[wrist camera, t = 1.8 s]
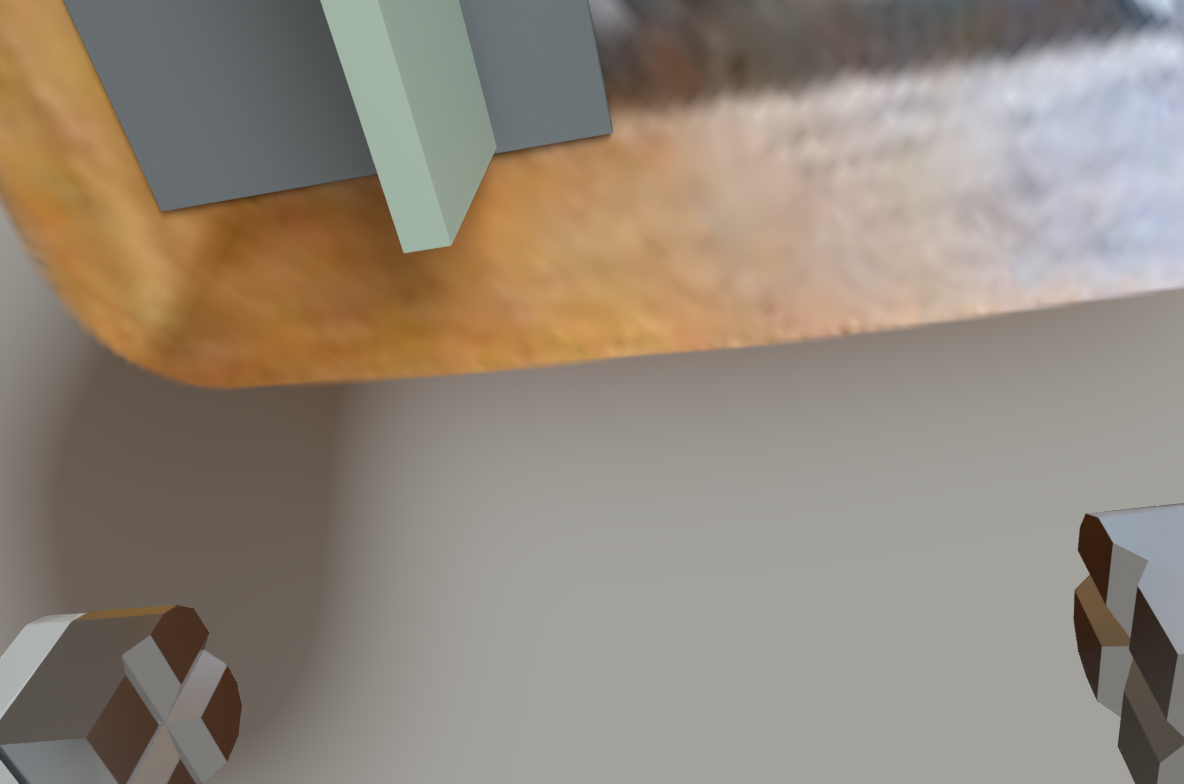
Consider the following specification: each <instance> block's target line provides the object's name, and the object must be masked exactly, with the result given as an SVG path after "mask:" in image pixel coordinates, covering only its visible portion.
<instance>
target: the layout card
mask: <svg viewBox="0 0 1184 784" xmlns="http://www.w3.org/2000/svg"><path fill="white" fill-rule="evenodd" d="M64 2H65V5H66V7H67V9H68V11H69V13H70V15H71V18H72V20H73V22H74V24H75V26H76V28H77V30H78V33H79V35H80V37H81V39H82V41H83V43H84V46H85V48H86V50H87V52H88V54H89V56H90V59H91V61H92V63H93V65H94V67H95V69H96V71H97V74H98V76H99V78H100V80H101V82H102V84H103V87H104V89H105V91H106V93H107V95H108V97H109V99H110V102H111V104H112V106H113V108H114V110H115V112H116V115H117V117H118V119H119V121H120V123H121V125H122V127H123V130H124V132H125V134H126V136H127V138H128V140H129V143H130V145H131V147H132V149H133V151H134V153H135V156H136V158H137V160H138V162H139V164H140V166H141V168H142V171H143V173H144V175H145V177H146V179H147V181H148V184H149V186H150V188H151V190H152V192H153V194H154V196H155V199H156V201H157V203H158V205H159V207H160V209H161V212H162V211H168V210H173V209H179V208H185V207H191V206H196V205H202V204H208V203H214V202H219V201H225V200H231V199H237V198H242V197H248V196H254V195H260V194H265V193H271V192H277V191H283V190H288V189H294V188H300V187H306V186H311V185H317V184H323V183H329V182H334V181H340V180H346V179H352V178H357V177H363V176H369V175H375V174H377V171H376V168H375V164H374V161H373V158H372V155H371V152H370V149H369V146H368V143H367V140H366V137H365V134H364V131H363V128H362V125H361V122H360V119H359V116H358V113H357V110H356V107H355V104H354V101H353V98H352V95H351V92H350V89H349V86H348V83H347V80H346V77H345V74H344V71H343V68H342V65H341V62H340V58H339V55H338V52H337V49H336V46H335V43H334V40H333V37H332V34H331V31H330V28H329V25H328V22H327V19H326V16H325V13H324V10H323V7H322V4H321V1H320V0H64ZM459 3H460V7H461V10H462V14H463V18H464V22H465V26H466V30H467V34H468V38H469V41H470V45H471V49H472V53H473V57H474V61H475V65H476V69H477V72H478V76H479V80H480V84H481V88H482V92H483V96H484V100H485V103H486V107H487V111H488V115H489V119H490V123H491V127H492V131H493V134H494V138H495V142H496V146H497V148H496V150H495V152H494V154H495V153H501V152H507V151H513V150H518V149H524V148H530V147H536V146H541V145H547V144H553V143H559V142H564V141H570V140H576V139H582V138H587V137H593V136H599V135H605V134H610V133H613V128H612V122H611V117H610V112H609V107H608V101H607V96H606V91H605V86H604V81H603V75H602V70H601V65H600V60H599V54H598V49H597V44H596V39H595V33H594V28H593V23H592V18H591V12H590V7H589V2H588V0H459Z"/></svg>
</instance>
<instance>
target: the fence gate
mask: <svg viewBox="0 0 1184 784" xmlns="http://www.w3.org/2000/svg"><path fill="white" fill-rule="evenodd" d="M320 1H321V4H322V7H323V10H324V13H325V16H326V19H327V22H328V25H329V28H330V31H331V34H332V37H333V40H334V43H335V46H336V49H337V52H338V55H339V58H340V62H341V65H342V68H343V71H344V74H345V77H346V80H347V83H348V86H349V89H350V92H351V95H352V98H353V101H354V104H355V107H356V110H357V113H358V116H359V119H360V122H361V125H362V128H363V131H364V134H365V137H366V140H367V143H368V146H369V149H370V152H371V155H372V158H373V161H374V164H375V168H376V171H377V174H378V177H379V180H380V183H381V186H382V189H383V192H384V195H385V198H386V201H387V204H388V207H389V210H390V213H391V216H392V219H393V222H394V225H395V228H396V231H397V234H398V237H399V240H400V243H401V246H402V249H403V252H404V253H409V252H415V251H421V250H428V249H434V248H440V247H446V246H452V243H453V241H454V239H455V237H456V235H457V233H458V230H459V228H460V226H461V224H462V222H463V220H464V217H465V215H466V213H467V211H468V209H469V207H470V204H471V202H472V200H473V198H474V196H475V193H476V191H477V189H478V187H479V185H480V183H481V180H482V178H483V176H484V174H485V172H486V170H487V167H488V165H489V163H490V161H491V159H492V157H493V154H494V152H495V150H496V148H497V146H496V142H495V138H494V134H493V131H492V127H491V123H490V119H489V115H488V111H487V107H486V103H485V100H484V96H483V92H482V88H481V84H480V80H479V76H478V72H477V69H476V65H475V61H474V57H473V53H472V49H471V45H470V41H469V38H468V34H467V30H466V26H465V22H464V18H463V14H462V10H461V7H460V3H459V0H320Z"/></svg>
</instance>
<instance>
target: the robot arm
mask: <svg viewBox="0 0 1184 784" xmlns="http://www.w3.org/2000/svg"><path fill="white" fill-rule="evenodd" d="M1078 552H1079V554H1080V556H1081V558H1082V560H1083V562H1084V563H1085V565H1086V568H1087V569H1088V571H1089V573H1090V575H1089V576H1088V577H1087V578H1086V579H1085V580H1084V581H1083V582H1082V583H1081V584H1080V585H1079V586H1078V587H1077V588H1076V589H1075V595H1074V626H1075V633H1076V640H1077V647H1078V652H1079V655H1080V658H1081V662H1082V665H1083V668H1084V671H1085V674H1086V677H1087V679H1088V682H1089V684H1090V686H1091V688H1092V691H1093V693H1094V695H1095V697H1096V700H1097V701H1098V702H1099V703H1101V704H1102V705H1104V706H1106V707H1107V708H1108V709H1110V710H1111V711H1113V712H1114V713H1115V714H1117V715H1118V716H1120V717H1121V721H1120V731H1119V739H1118V748H1119V750H1120V752H1121V754H1122V756H1123V758H1124V760H1125V763H1126V765H1127V767H1128V769H1129V771H1130V773H1131V775H1132V778H1133V780H1134V782H1135V784H1184V503H1178V504H1169V505H1160V506H1150V507H1142V508H1133V509H1122V510H1113V511H1104V512H1095V513H1086V514H1085V517H1084V519H1083V521H1082V523H1081V526H1080V532H1079V543H1078ZM208 636H209V631H208V630H207V628H206V627H205V625H204V624H203V622H202V620H201V619H200V617H199V616H198V614H197V612H196V611H195V609H194V608H189V607H185V606H180V605H170V606H157V607H144V608H131V609H117V610H105V611H90V612H88V613H79V614H64V615H50V616H43V617H41V618H39V619H37V620H35V621H33V622H31V623H30V624H27V625H26V626H25V627H24V628H23V630H22V631H21V632H20V633H19V635H18V636H17V637H16V639H15V640H14V641H13V642H12V644H11V645H10V646H9V648H8V649H7V650H6V651H5V653H4V654H3V655H2V656H1V658H0V784H203V783H204V782H205V781H206V780H207V779H209V778H210V777H211V776H212V775H213V774H214V773H215V772H216V771H218V769H220V768H221V767H222V766H223V765H224V764H225V763H227V761H228V759H229V756H230V754H231V752H232V749H233V747H234V745H235V743H236V740H237V738H238V735H239V726H240V717H241V708H242V704H241V699H240V695H239V690H238V685H237V682H236V680H235V678H234V677H233V675H232V673H231V671H230V669H229V667H228V665H226V664H225V663H223V662H222V661H220V660H219V659H217V658H216V657H214V656H212V655H211V654H209V653H208V652H206V651H205V650H204V649H205V645H206V642H207V639H208Z"/></svg>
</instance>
